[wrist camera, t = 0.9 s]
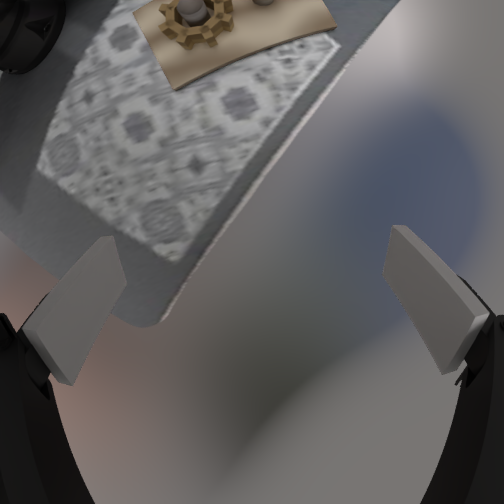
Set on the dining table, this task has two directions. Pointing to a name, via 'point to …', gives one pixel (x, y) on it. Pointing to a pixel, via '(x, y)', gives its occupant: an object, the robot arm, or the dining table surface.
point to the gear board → (223, 31)
